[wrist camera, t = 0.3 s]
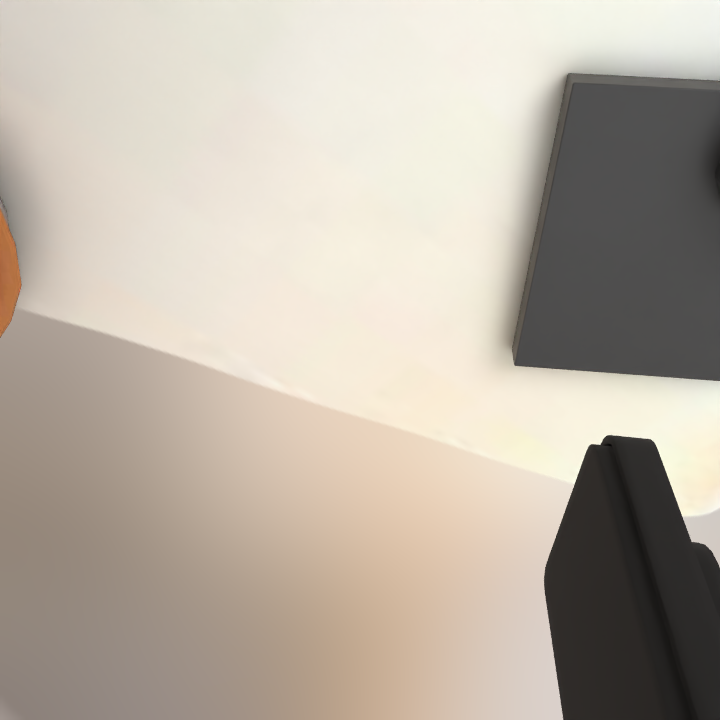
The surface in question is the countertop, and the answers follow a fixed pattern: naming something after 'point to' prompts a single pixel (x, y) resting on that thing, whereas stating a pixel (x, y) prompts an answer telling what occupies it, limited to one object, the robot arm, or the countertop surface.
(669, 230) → the scale
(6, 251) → the pie
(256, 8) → the countertop surface
